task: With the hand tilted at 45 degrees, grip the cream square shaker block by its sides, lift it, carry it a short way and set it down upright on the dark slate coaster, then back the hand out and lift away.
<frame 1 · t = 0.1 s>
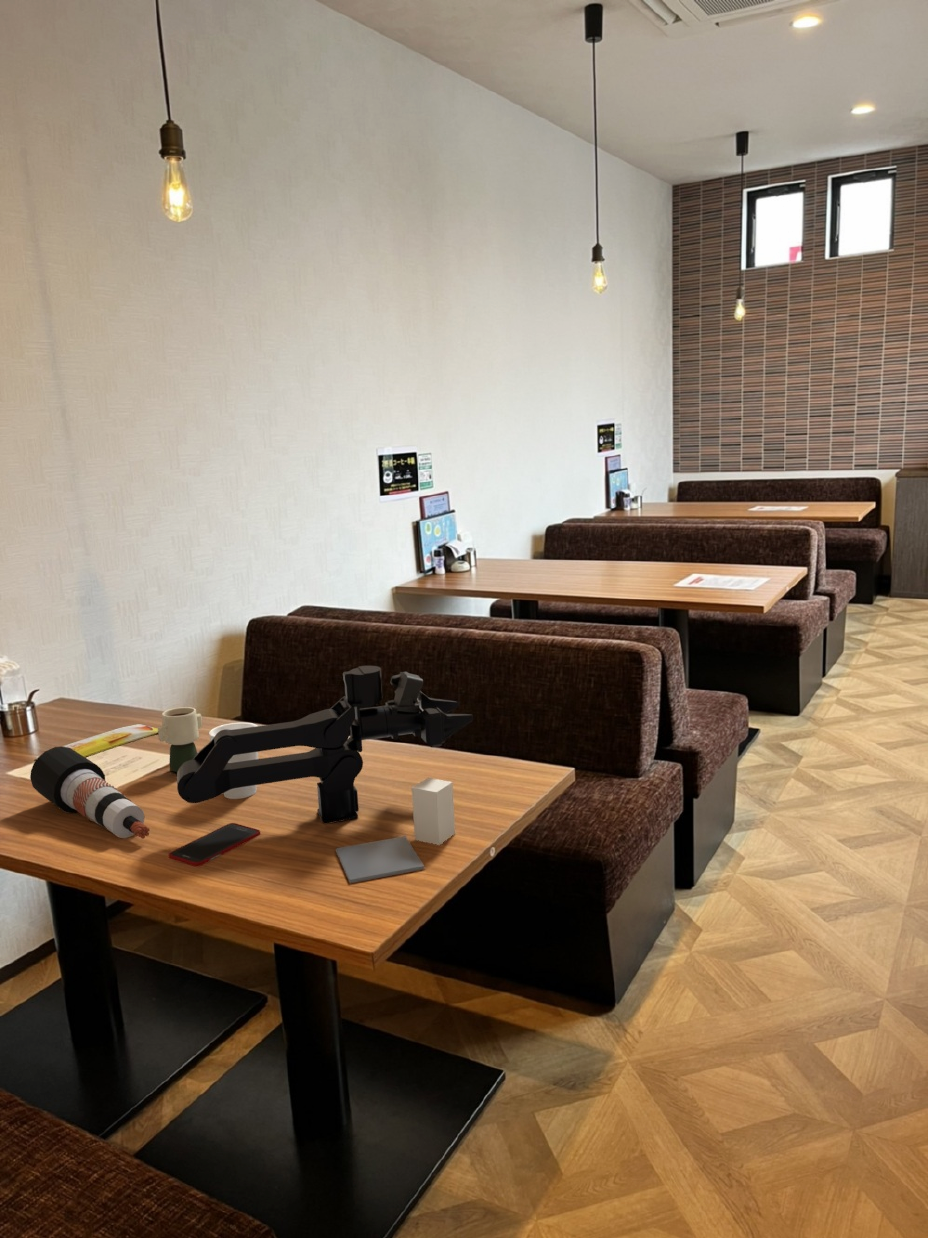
hand: (465, 710, 175), 17 cm above the table, tool horizontal, fingers open, 9 cm apart
cell phone: (216, 848, 161), on the table
character mug: (185, 771, 198), on the table
slate coaster: (379, 860, 153), on the table
foam cup: (240, 793, 184), on the table
food package: (102, 748, 217), on the table
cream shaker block: (435, 836, 160), on the table
cable: (99, 821, 174), on the table
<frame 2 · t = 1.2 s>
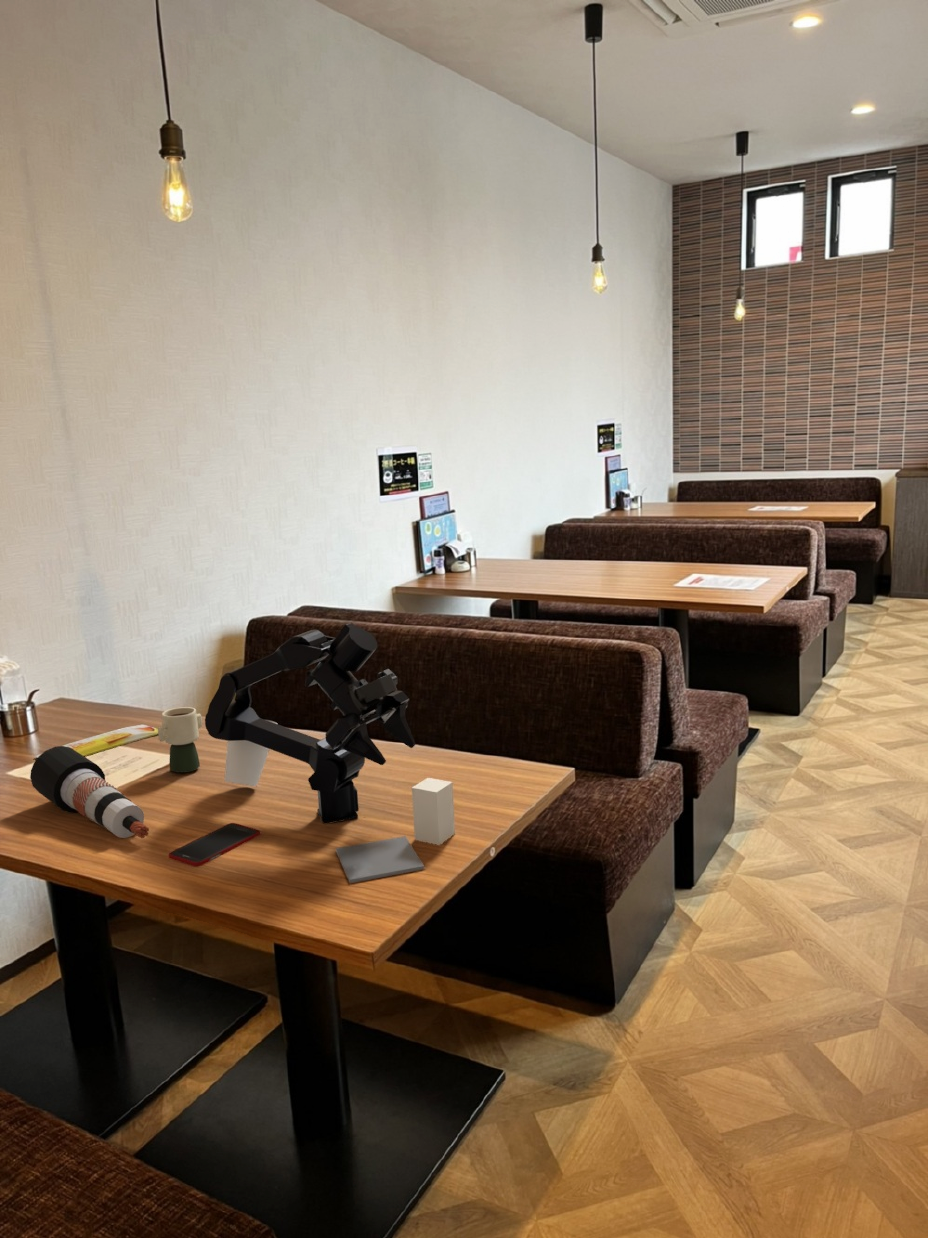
hand: (399, 754, 161), 14 cm above the table, tool tilted 45°, fingers open, 9 cm apart
foam cup: (240, 785, 184), point 1 cm above the table, touching arm
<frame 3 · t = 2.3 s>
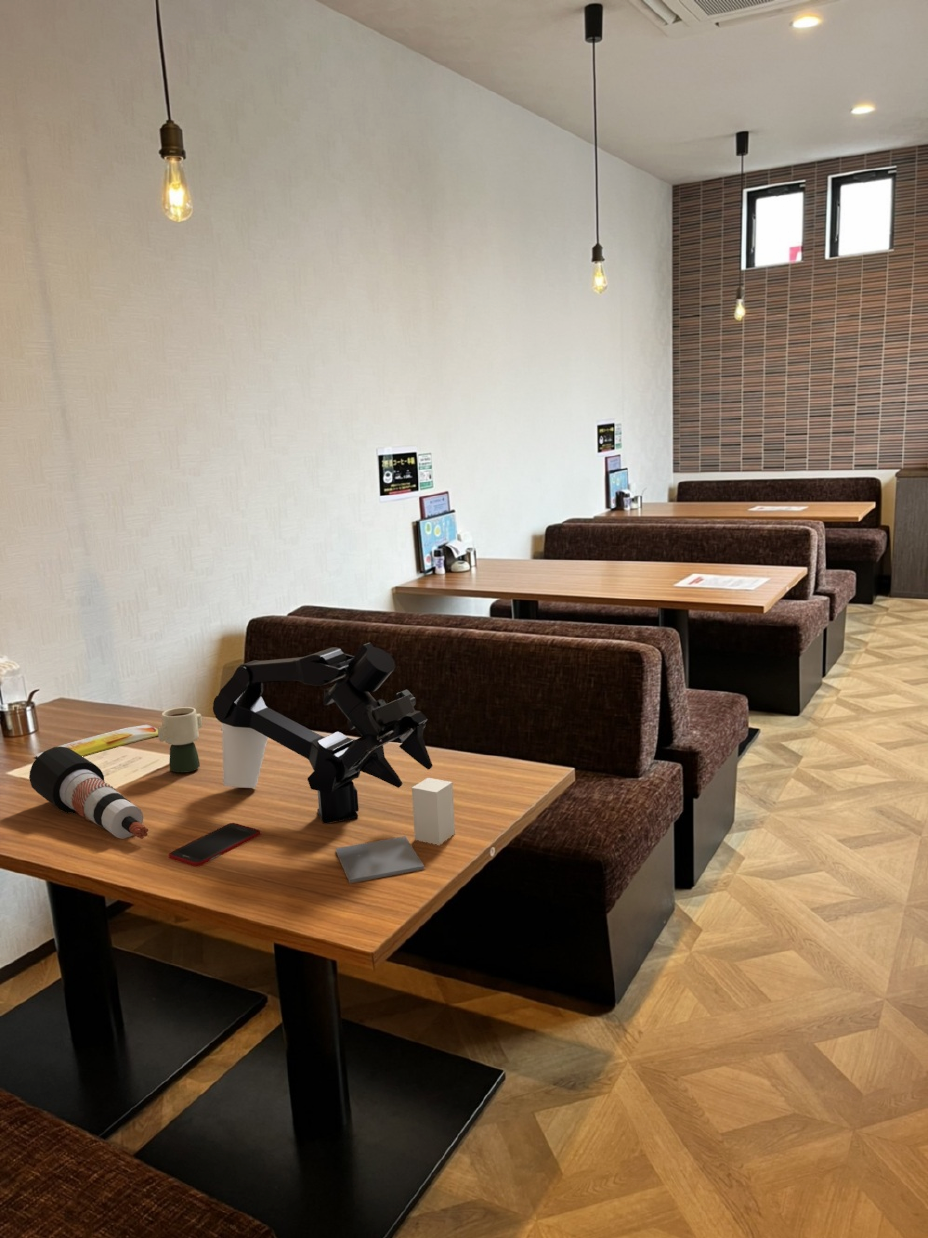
hand: (416, 776, 160), 10 cm above the table, tool tilted 45°, fingers open, 9 cm apart
foam cup: (239, 787, 184), point 1 cm above the table
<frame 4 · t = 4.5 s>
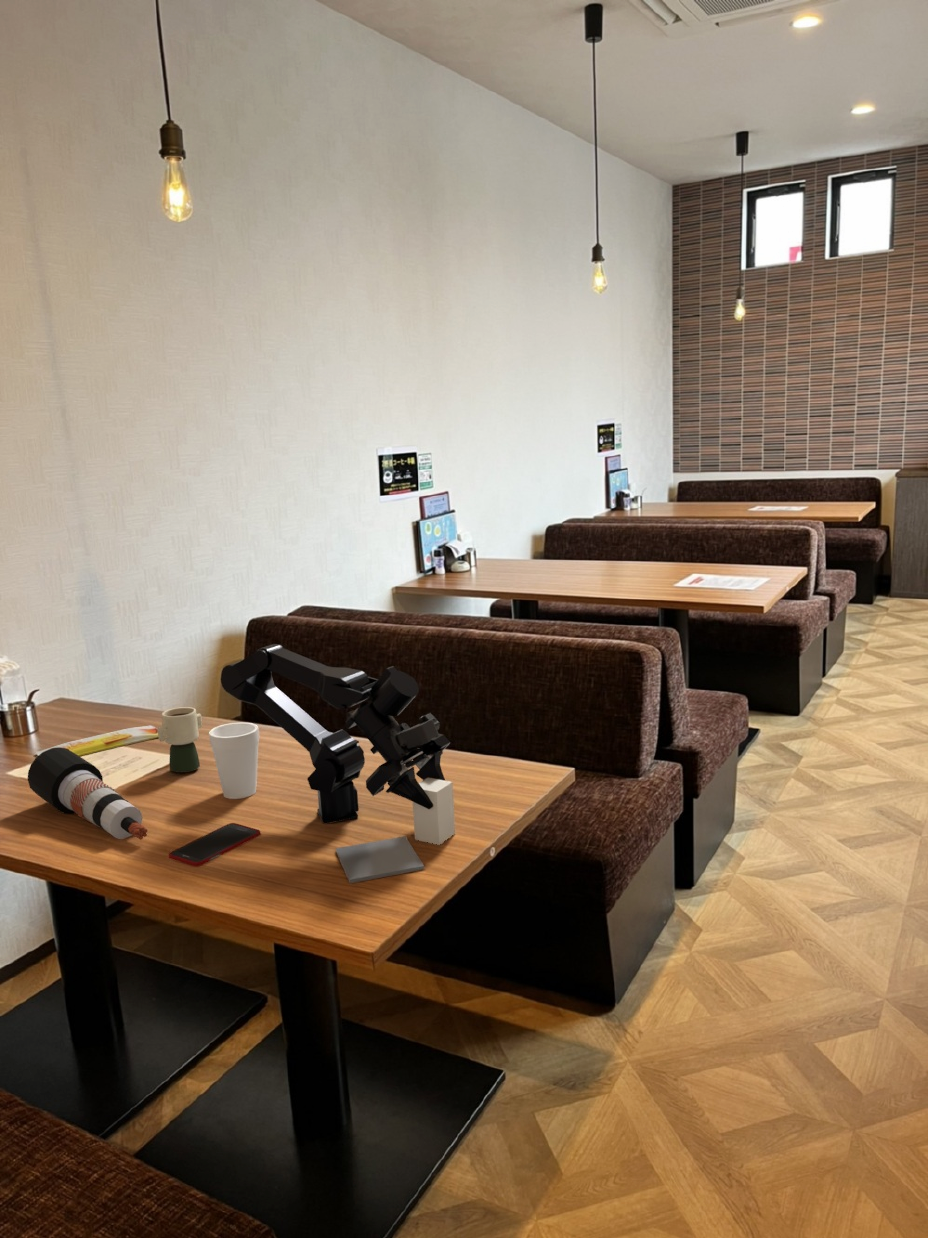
hand: (440, 801, 158), 7 cm above the table, tool tilted 45°, fingers closed on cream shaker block, 5 cm apart
foam cup: (239, 793, 184), on the table
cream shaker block: (435, 836, 160), on the table, touching gripper
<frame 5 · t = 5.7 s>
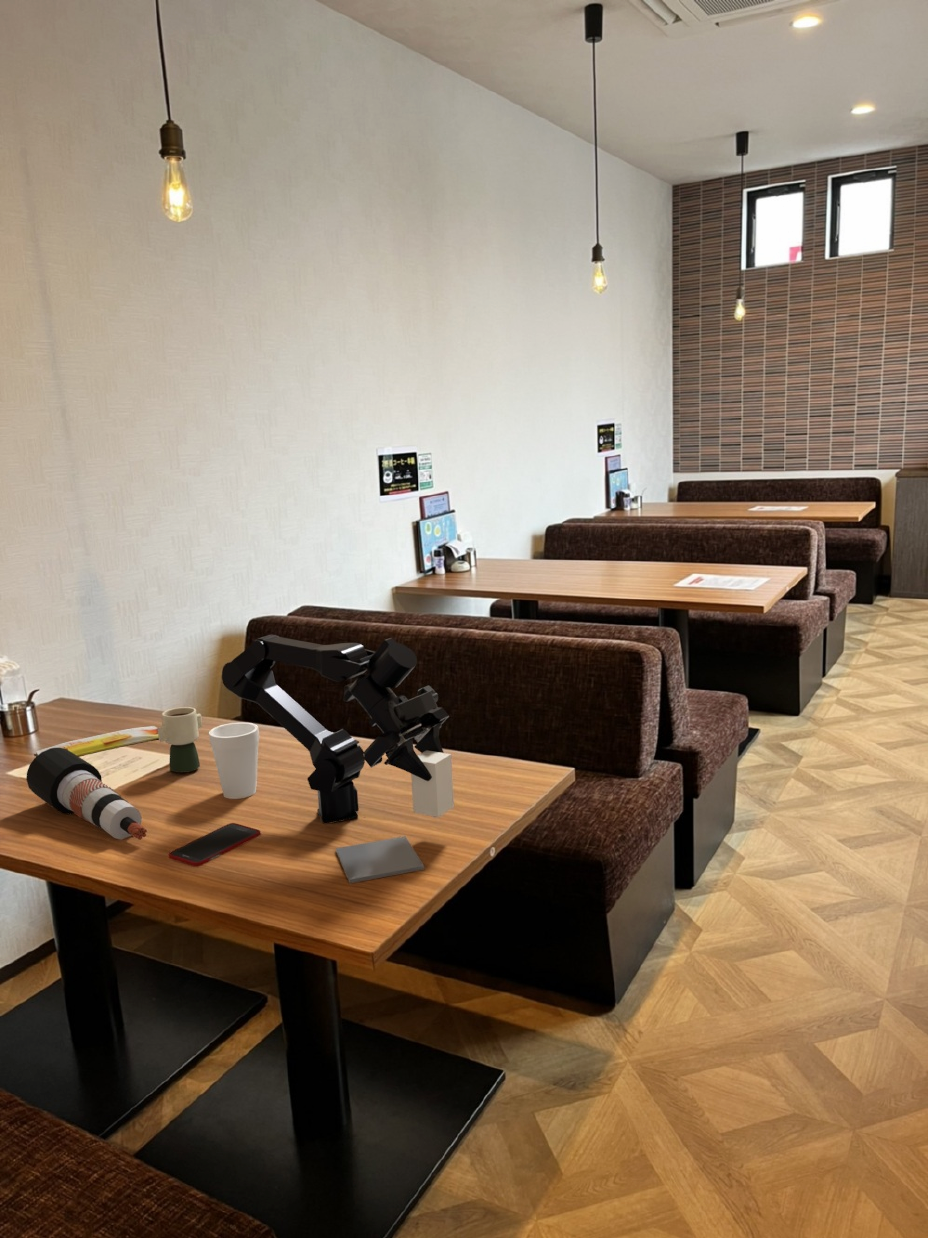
hand: (438, 774, 157), 12 cm above the table, tool tilted 45°, fingers closed on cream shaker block, 5 cm apart
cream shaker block: (433, 809, 159), point 5 cm above the table, touching gripper
when the fingers open (8 cm above the table, at t = 8.8 s): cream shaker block drops 1 cm, resting on slate coaster.
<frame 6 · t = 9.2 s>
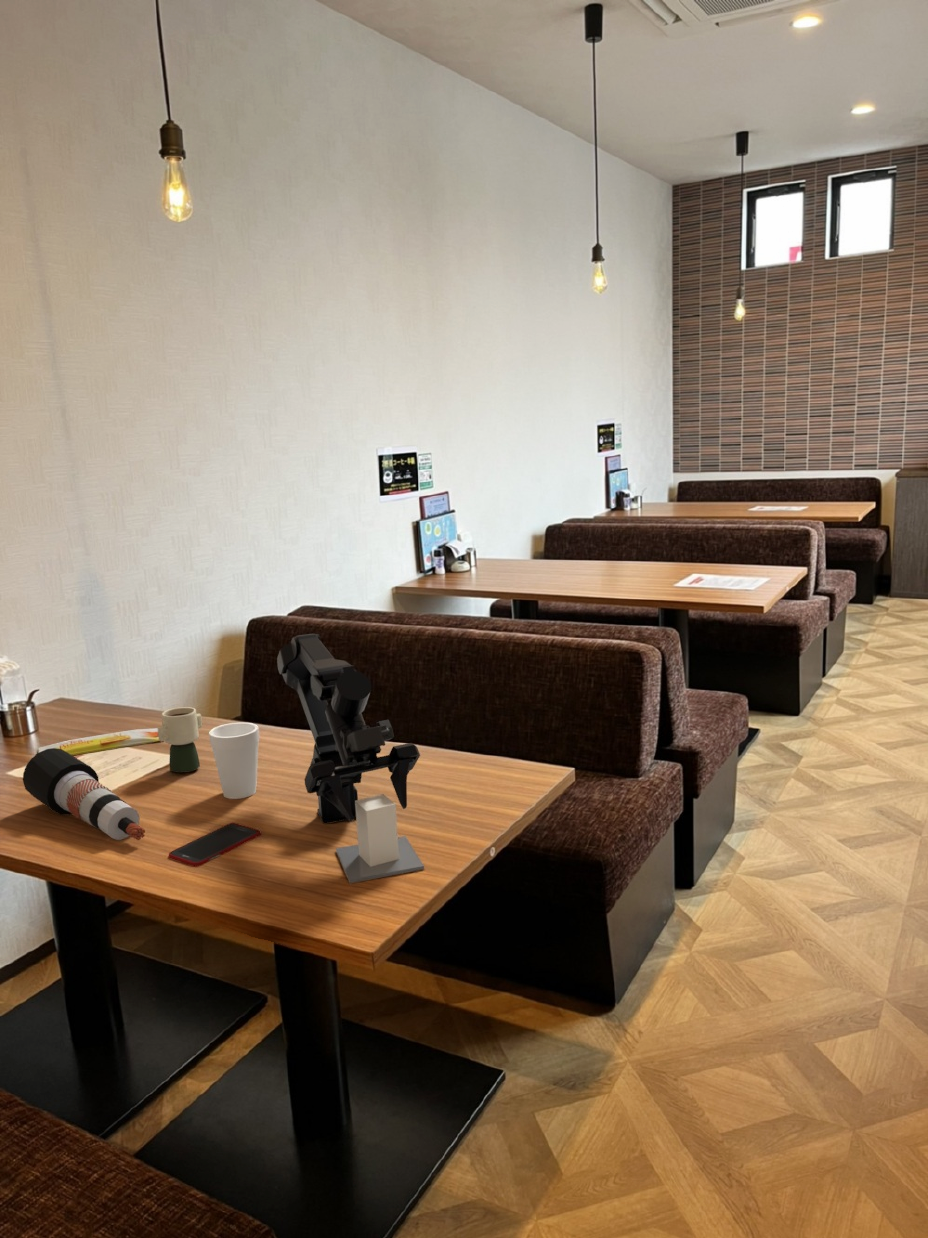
hand: (379, 814, 150), 9 cm above the table, tool tilted 45°, fingers open, 9 cm apart
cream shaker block: (378, 856, 152), point 1 cm above the table, touching slate coaster
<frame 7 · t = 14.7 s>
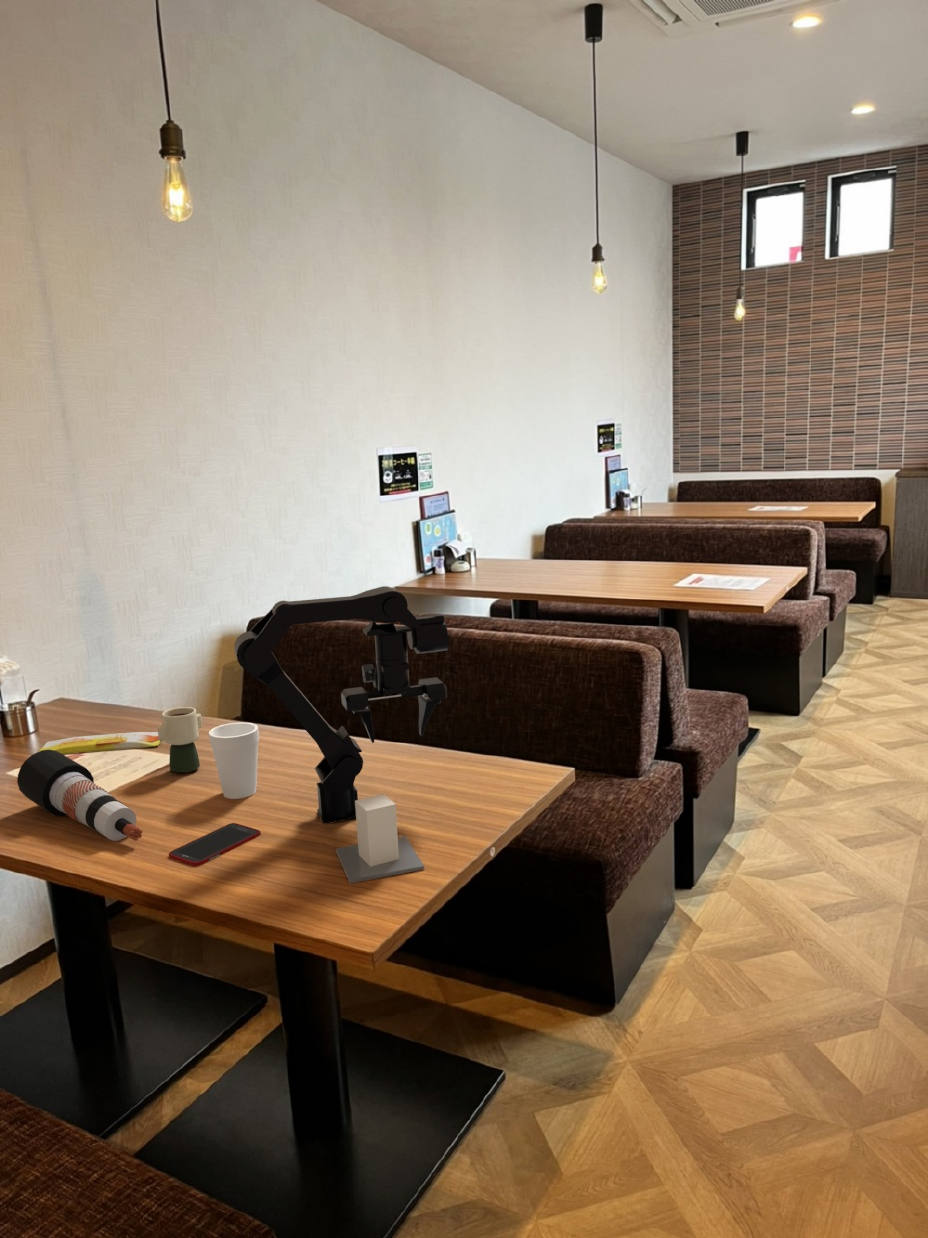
hand: (397, 738, 172), 13 cm above the table, tool pointing down, fingers open, 9 cm apart
at the end: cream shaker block inside the target area on the slate coaster (0.0 cm from its centre), point 0.6 cm above the slate coaster's base; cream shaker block tilted 0°; the gripper is holding nothing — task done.
